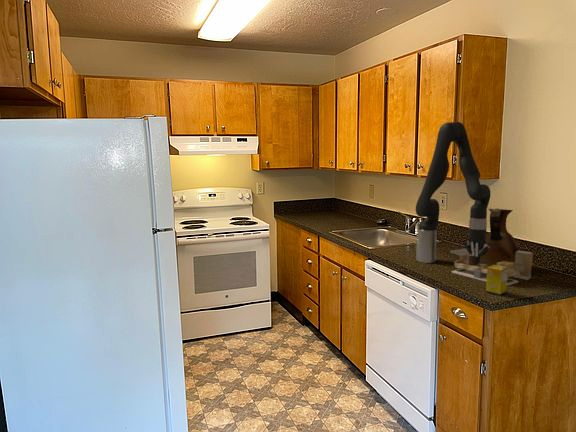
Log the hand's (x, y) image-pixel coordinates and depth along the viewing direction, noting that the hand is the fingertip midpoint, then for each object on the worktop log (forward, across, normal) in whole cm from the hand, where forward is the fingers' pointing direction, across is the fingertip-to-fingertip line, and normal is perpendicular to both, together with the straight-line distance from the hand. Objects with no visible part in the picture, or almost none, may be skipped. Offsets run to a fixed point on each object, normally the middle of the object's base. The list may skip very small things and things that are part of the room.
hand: (476, 263), depth 203 cm
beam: (+2, +4, 0) cm, 5 cm away
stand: (+6, +4, 0) cm, 7 cm away
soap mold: (+6, -25, +31) cm, 40 cm away
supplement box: (+6, +20, -16) cm, 26 cm away
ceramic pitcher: (+6, -2, +21) cm, 22 cm away
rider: (+2, -5, 0) cm, 5 cm away
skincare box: (+6, +15, +13) cm, 21 cm away
